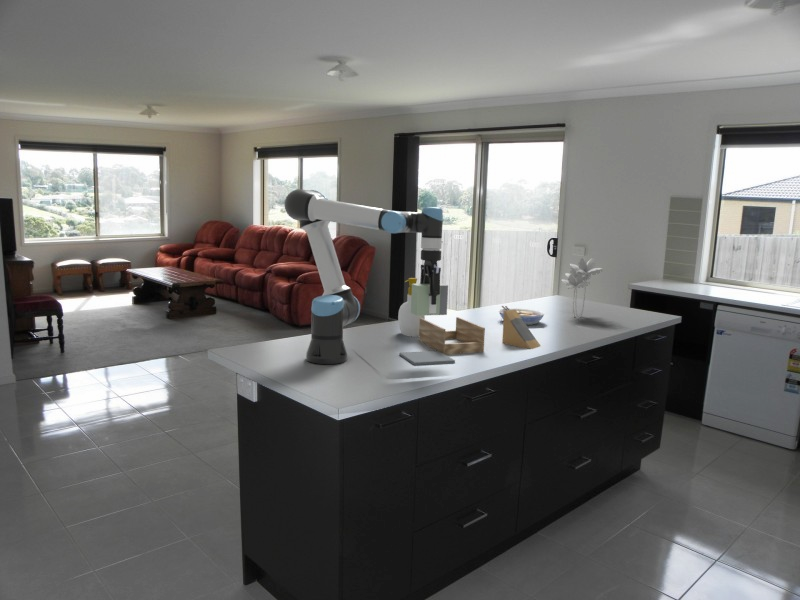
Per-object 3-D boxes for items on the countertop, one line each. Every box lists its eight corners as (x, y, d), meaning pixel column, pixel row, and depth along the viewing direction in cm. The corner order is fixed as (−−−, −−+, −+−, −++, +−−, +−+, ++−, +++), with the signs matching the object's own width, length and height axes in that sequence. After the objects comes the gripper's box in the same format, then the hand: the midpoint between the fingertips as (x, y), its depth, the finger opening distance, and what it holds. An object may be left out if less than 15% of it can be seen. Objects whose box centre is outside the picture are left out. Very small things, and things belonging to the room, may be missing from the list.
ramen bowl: (548, 331, 288) (550, 315, 287) (501, 330, 289) (502, 313, 287) (538, 322, 313) (539, 307, 312) (494, 321, 313) (495, 305, 312)
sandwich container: (532, 351, 244) (535, 315, 242) (501, 345, 255) (503, 310, 253) (543, 349, 250) (546, 313, 248) (512, 342, 261) (515, 308, 259)
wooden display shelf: (442, 354, 233) (443, 329, 232) (418, 341, 256) (419, 318, 255) (483, 352, 239) (484, 327, 238) (456, 339, 262) (457, 317, 261)
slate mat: (414, 365, 215) (414, 362, 215) (399, 355, 230) (399, 352, 229) (454, 362, 220) (454, 360, 220) (437, 353, 235) (437, 350, 235)
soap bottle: (391, 334, 268) (393, 277, 264) (405, 332, 274) (407, 276, 270) (414, 340, 258) (416, 280, 254) (428, 337, 264) (431, 279, 260)
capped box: (416, 315, 218) (417, 285, 216) (410, 313, 223) (411, 283, 222) (446, 314, 222) (448, 285, 220) (440, 312, 227) (441, 283, 226)
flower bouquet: (547, 313, 323) (554, 303, 303) (566, 258, 330) (575, 245, 310) (578, 324, 321) (588, 315, 300) (597, 268, 328) (608, 256, 308)
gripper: (451, 251, 211) (448, 315, 215) (430, 248, 229) (428, 307, 232) (431, 251, 209) (429, 316, 212) (412, 247, 227) (410, 307, 230)
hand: (428, 311), depth 222 cm, fingers closed on capped box, 6 cm apart
